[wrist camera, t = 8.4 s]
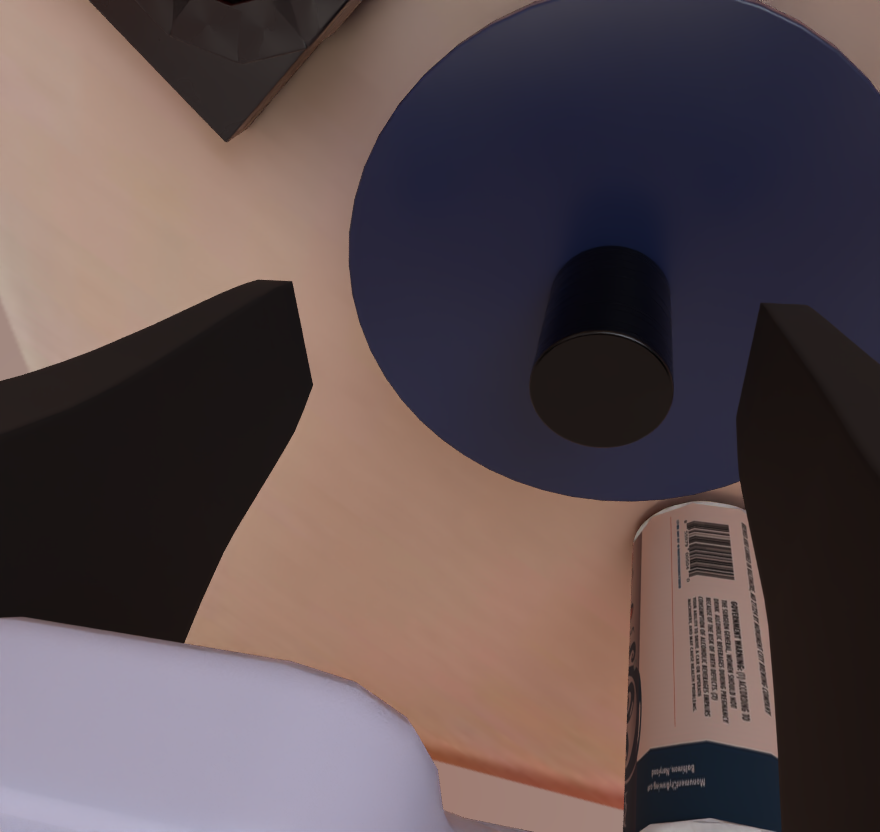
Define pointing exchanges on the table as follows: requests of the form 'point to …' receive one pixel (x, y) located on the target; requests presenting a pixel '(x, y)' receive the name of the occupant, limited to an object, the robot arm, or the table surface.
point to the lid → (614, 234)
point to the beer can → (699, 678)
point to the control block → (226, 48)
